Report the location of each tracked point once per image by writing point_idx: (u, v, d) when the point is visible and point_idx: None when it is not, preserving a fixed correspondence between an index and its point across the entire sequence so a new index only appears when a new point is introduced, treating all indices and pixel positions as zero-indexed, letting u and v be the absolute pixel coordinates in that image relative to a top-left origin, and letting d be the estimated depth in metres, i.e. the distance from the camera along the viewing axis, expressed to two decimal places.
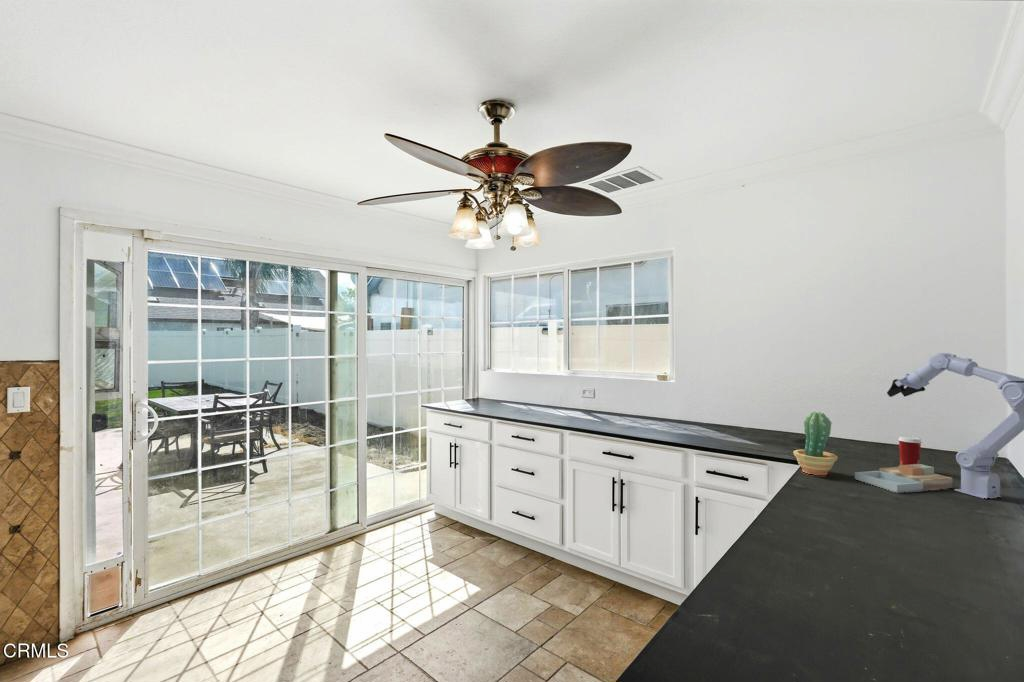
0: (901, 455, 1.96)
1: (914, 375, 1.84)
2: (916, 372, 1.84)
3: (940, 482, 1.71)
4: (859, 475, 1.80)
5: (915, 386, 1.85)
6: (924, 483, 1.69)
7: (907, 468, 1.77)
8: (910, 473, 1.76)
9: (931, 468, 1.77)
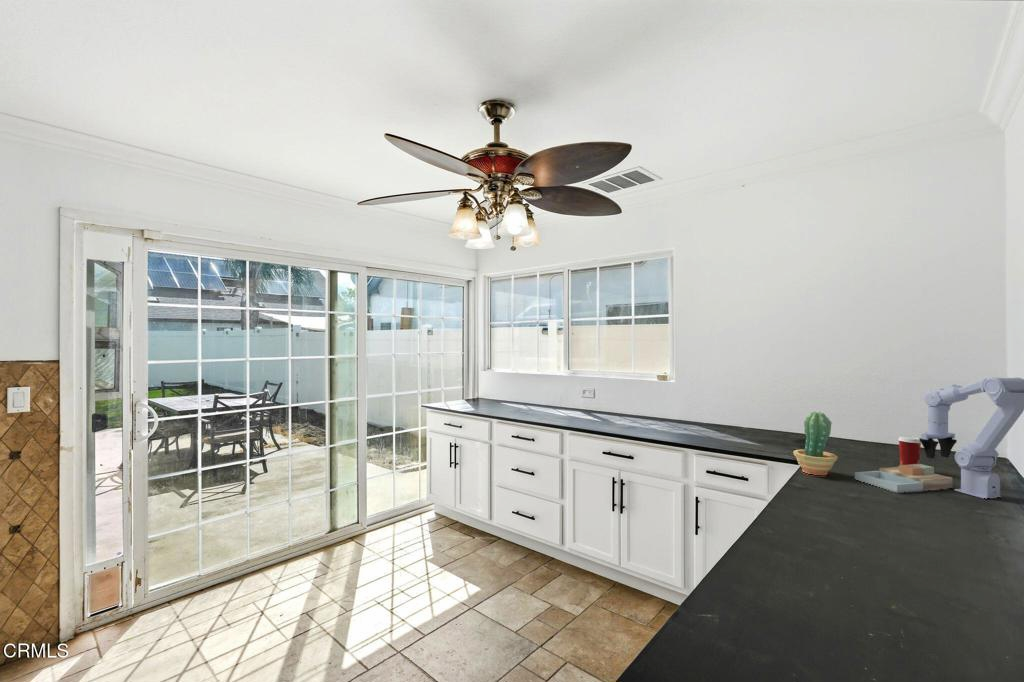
0: (901, 455, 1.96)
1: (930, 425, 1.81)
2: (929, 421, 1.82)
3: (940, 482, 1.71)
4: (859, 475, 1.80)
5: (941, 434, 1.78)
6: (924, 483, 1.69)
7: (907, 468, 1.77)
8: (910, 473, 1.76)
9: (931, 468, 1.77)
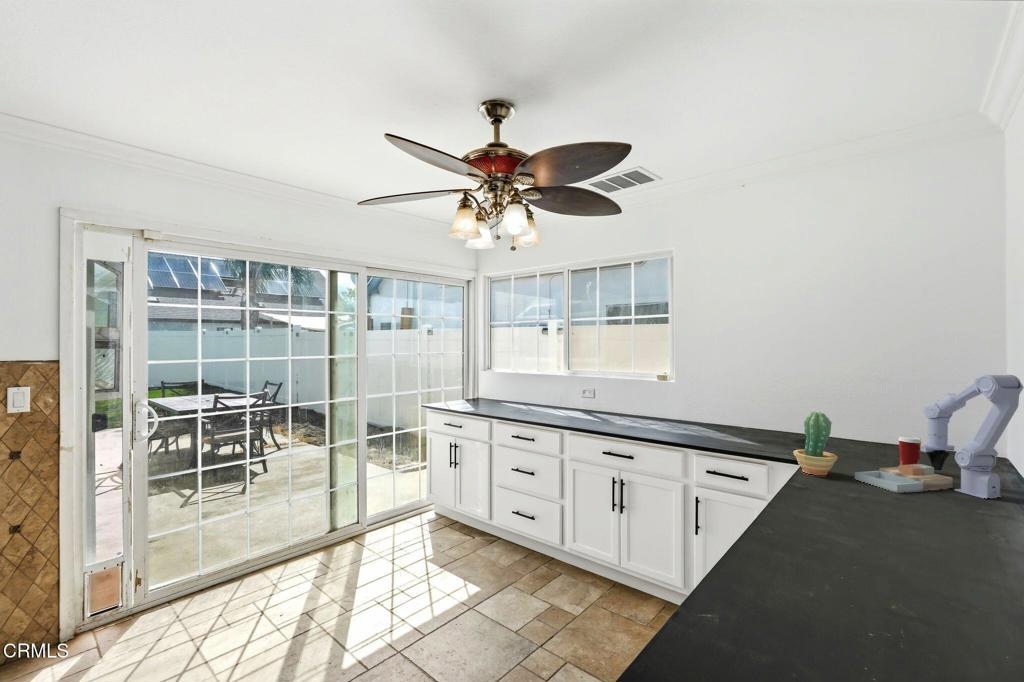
0: (901, 455, 1.96)
1: (930, 437, 1.81)
2: (929, 434, 1.82)
3: (940, 482, 1.71)
4: (859, 475, 1.80)
5: (941, 447, 1.78)
6: (924, 483, 1.69)
7: (907, 468, 1.77)
8: (910, 473, 1.76)
9: (931, 468, 1.77)
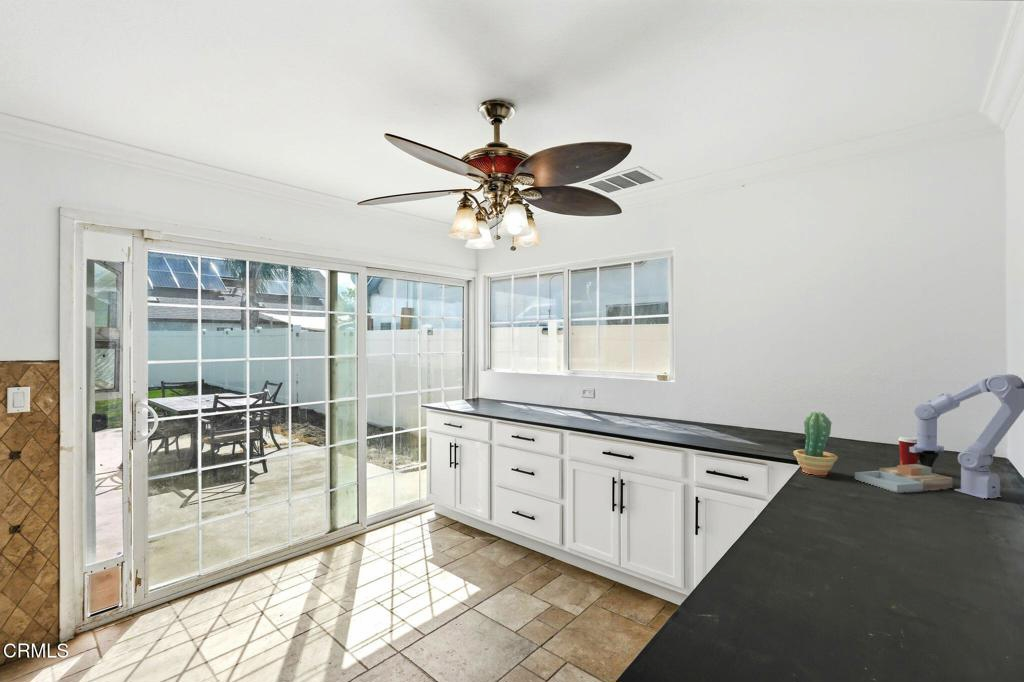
0: (901, 455, 1.96)
1: (919, 438, 1.80)
2: (918, 434, 1.81)
3: (940, 482, 1.71)
4: (859, 475, 1.80)
5: (930, 447, 1.77)
6: (924, 483, 1.69)
7: (905, 468, 1.77)
8: (908, 473, 1.76)
9: (928, 468, 1.77)
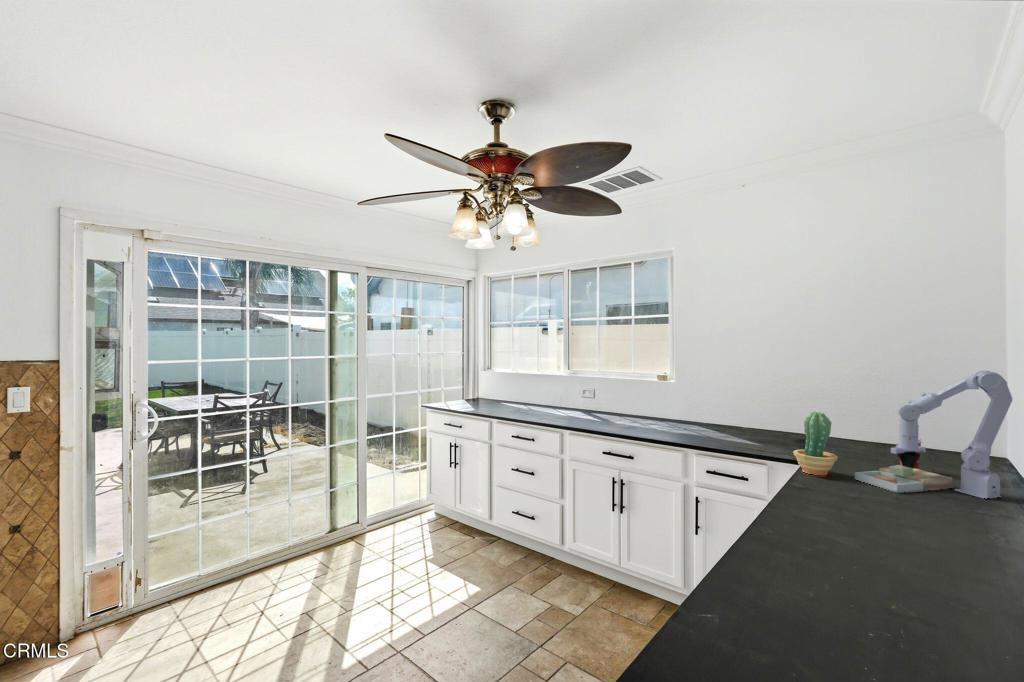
0: None
1: (901, 438, 1.78)
2: (900, 435, 1.78)
3: (940, 482, 1.71)
4: (859, 475, 1.80)
5: (911, 448, 1.75)
6: (924, 483, 1.69)
7: None
8: None
9: (910, 469, 1.75)
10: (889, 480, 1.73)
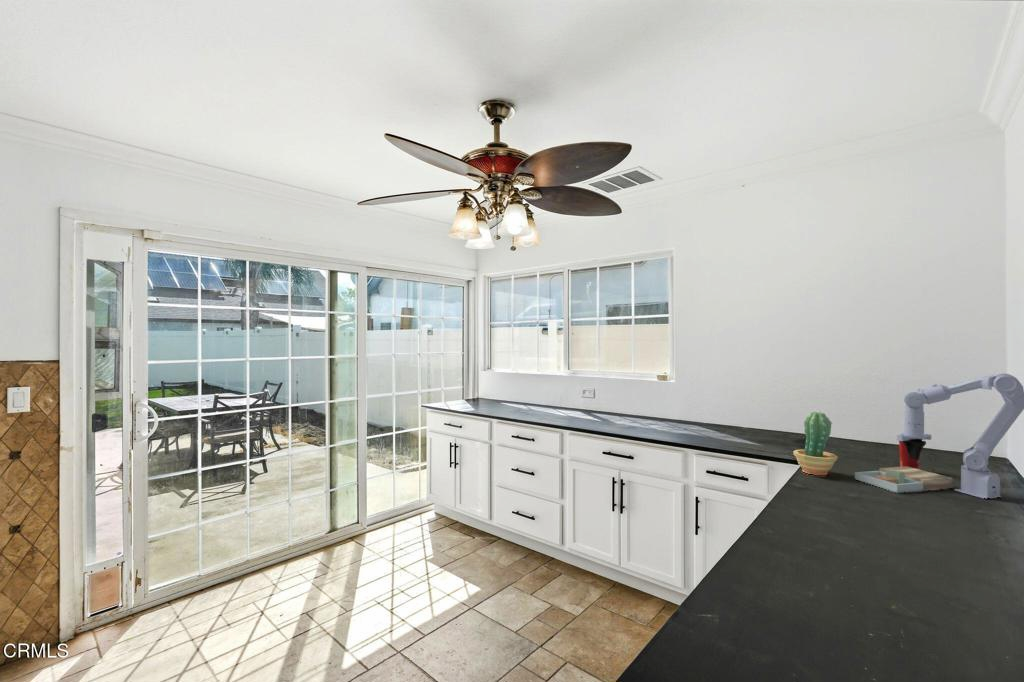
0: (901, 455, 1.96)
1: (906, 426, 1.78)
2: (905, 422, 1.79)
3: (940, 482, 1.71)
4: (859, 475, 1.80)
5: (917, 436, 1.76)
6: (924, 483, 1.69)
7: None
8: None
9: (900, 475, 1.73)
10: (889, 480, 1.72)
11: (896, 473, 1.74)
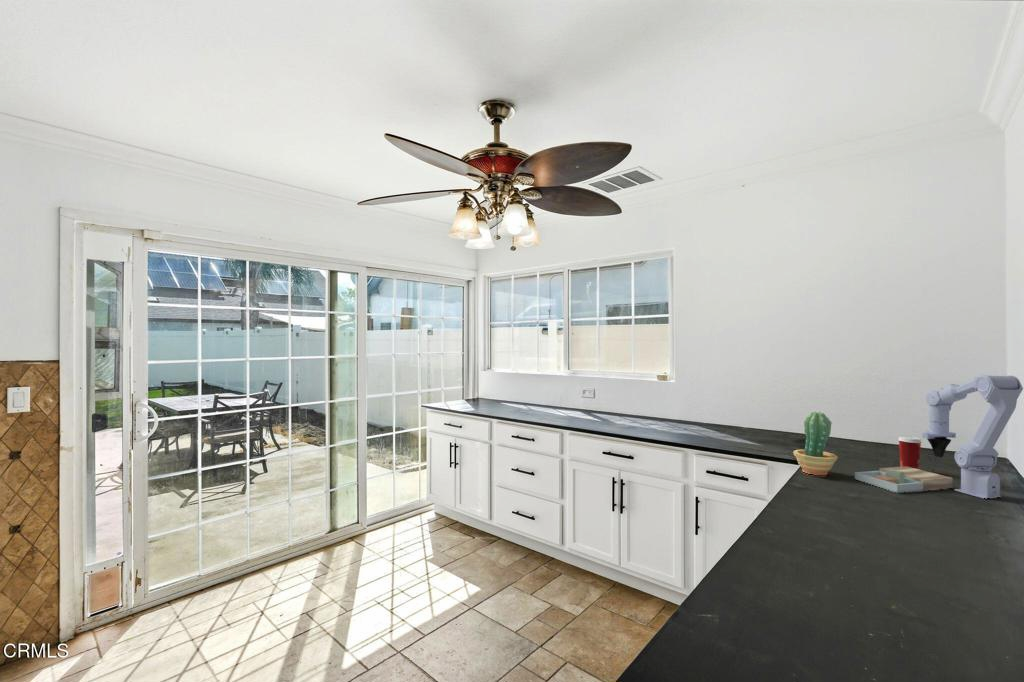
0: (901, 455, 1.96)
1: (931, 424, 1.83)
2: (930, 421, 1.83)
3: (940, 482, 1.71)
4: (859, 475, 1.80)
5: (942, 434, 1.80)
6: (924, 483, 1.69)
7: None
8: None
9: (900, 475, 1.73)
10: (889, 480, 1.72)
11: (896, 473, 1.74)
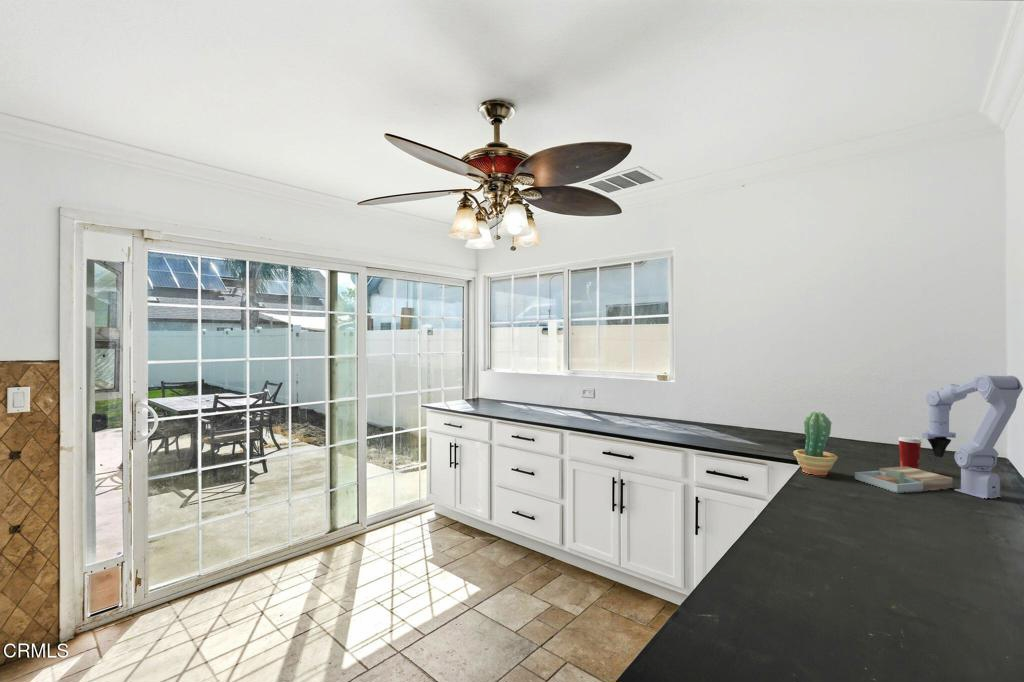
0: (901, 455, 1.96)
1: (931, 424, 1.83)
2: (930, 421, 1.83)
3: (940, 482, 1.71)
4: (859, 475, 1.80)
5: (942, 434, 1.80)
6: (924, 483, 1.69)
7: None
8: None
9: (900, 475, 1.73)
10: (889, 480, 1.72)
11: (896, 473, 1.74)
